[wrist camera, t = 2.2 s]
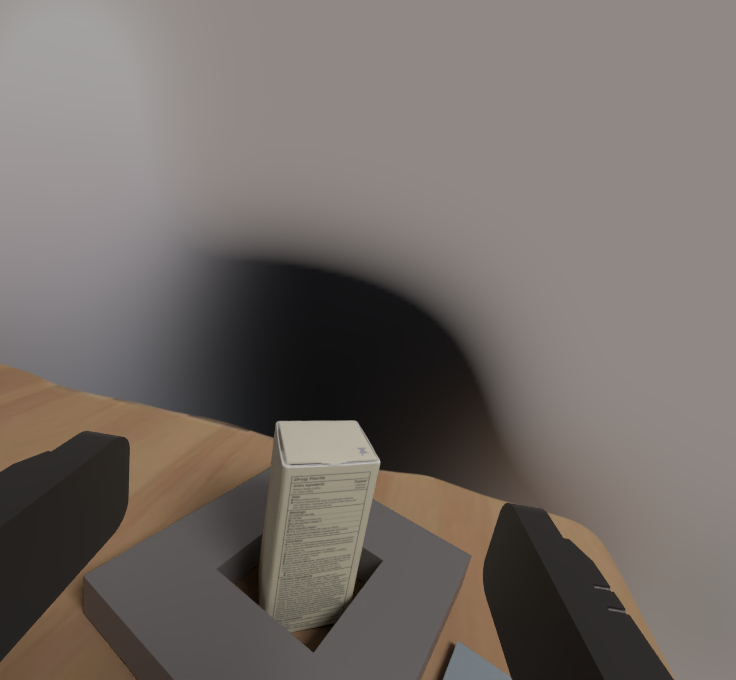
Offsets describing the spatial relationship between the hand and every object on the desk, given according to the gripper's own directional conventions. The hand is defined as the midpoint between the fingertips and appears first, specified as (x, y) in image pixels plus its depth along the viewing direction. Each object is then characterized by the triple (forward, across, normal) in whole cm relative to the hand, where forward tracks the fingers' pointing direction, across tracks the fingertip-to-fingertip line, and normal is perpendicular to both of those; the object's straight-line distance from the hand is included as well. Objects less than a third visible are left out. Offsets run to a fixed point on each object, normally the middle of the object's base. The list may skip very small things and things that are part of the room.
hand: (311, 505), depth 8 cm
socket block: (+12, 0, +16) cm, 20 cm away
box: (+12, 0, +16) cm, 20 cm away
